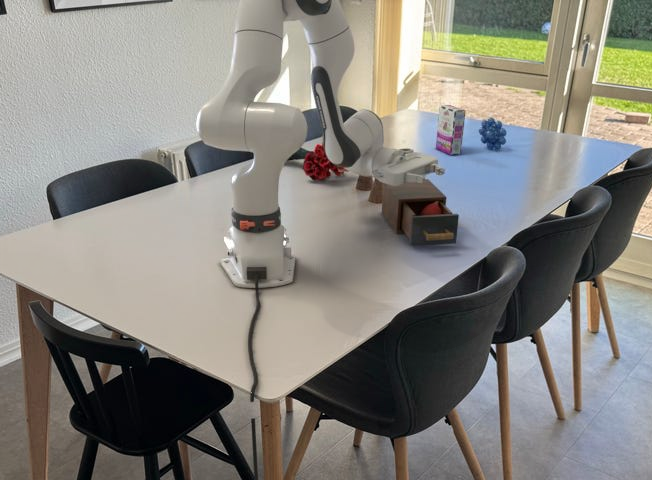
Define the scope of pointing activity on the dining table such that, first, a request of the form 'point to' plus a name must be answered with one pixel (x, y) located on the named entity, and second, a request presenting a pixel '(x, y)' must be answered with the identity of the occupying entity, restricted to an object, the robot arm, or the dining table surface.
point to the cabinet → (407, 199)
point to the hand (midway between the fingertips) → (433, 175)
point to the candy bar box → (450, 129)
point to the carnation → (317, 163)
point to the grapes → (492, 133)
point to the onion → (431, 209)
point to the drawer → (428, 224)
